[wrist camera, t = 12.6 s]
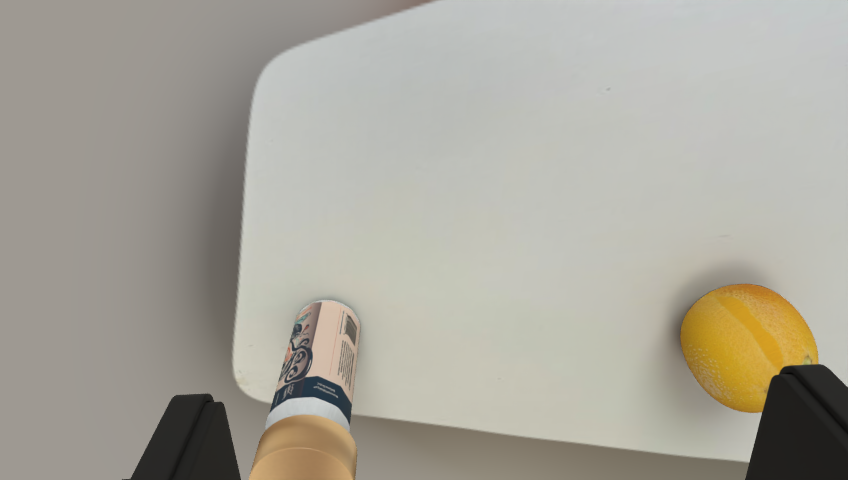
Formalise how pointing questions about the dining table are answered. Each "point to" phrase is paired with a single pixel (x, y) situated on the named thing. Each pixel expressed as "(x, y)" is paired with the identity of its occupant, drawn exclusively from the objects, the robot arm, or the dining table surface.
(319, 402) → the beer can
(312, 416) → the lid
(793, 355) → the fruit
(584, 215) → the dining table surface
